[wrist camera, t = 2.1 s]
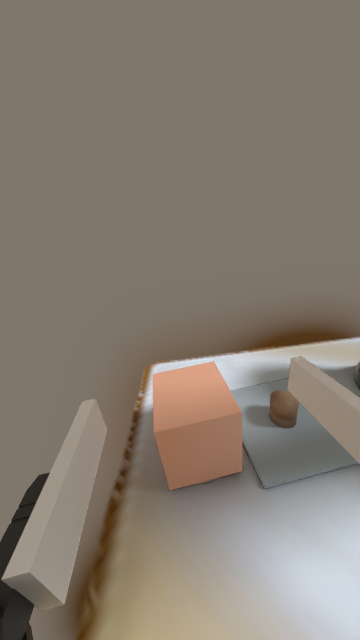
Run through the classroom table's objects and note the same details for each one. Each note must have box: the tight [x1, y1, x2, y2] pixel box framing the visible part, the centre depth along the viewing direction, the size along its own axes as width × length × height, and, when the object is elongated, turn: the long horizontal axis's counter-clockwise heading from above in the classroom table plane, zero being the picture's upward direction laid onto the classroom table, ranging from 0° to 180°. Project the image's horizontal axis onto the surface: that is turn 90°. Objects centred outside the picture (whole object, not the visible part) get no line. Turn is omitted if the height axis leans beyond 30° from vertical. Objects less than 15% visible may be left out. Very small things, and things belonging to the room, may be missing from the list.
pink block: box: [153, 362, 243, 490], centre depth 27 cm, size 10×10×11 cm
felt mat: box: [230, 378, 358, 489], centre depth 31 cm, size 16×16×1 cm
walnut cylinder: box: [269, 390, 299, 428], centre depth 30 cm, size 4×4×4 cm
